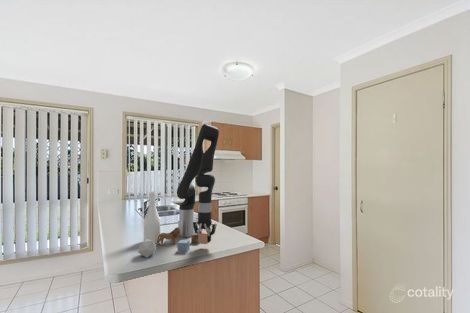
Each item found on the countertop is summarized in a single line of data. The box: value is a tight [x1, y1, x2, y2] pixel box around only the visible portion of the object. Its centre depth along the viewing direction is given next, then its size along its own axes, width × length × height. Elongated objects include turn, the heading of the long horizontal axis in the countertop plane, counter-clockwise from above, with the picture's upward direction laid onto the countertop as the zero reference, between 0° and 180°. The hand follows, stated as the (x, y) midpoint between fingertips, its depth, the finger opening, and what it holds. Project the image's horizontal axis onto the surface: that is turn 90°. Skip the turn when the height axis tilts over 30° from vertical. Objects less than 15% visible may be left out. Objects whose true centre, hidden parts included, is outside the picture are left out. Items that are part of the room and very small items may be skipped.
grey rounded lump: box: [137, 239, 157, 258], centre depth 122 cm, size 8×9×10 cm
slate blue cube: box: [177, 239, 190, 253], centre depth 128 cm, size 5×5×5 cm
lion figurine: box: [155, 226, 181, 246], centre depth 139 cm, size 15×5×9 cm, turn 116°
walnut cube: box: [190, 232, 200, 245], centre depth 142 cm, size 5×5×5 cm
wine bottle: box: [143, 190, 161, 244], centre depth 144 cm, size 10×10×30 cm
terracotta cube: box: [198, 231, 209, 245], centre depth 132 cm, size 5×5×5 cm
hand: (204, 241), depth 131 cm, fingers closed on terracotta cube, 5 cm apart
